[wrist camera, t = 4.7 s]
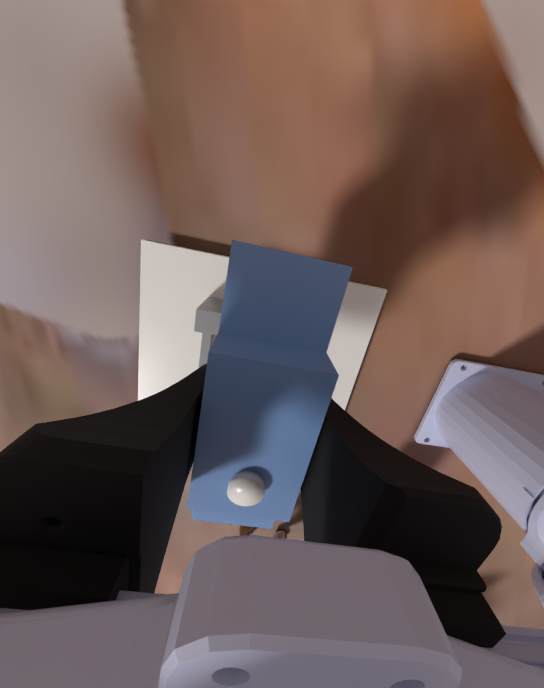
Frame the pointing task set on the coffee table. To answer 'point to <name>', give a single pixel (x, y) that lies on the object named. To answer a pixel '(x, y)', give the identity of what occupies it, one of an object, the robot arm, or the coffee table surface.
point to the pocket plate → (205, 313)
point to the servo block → (265, 385)
